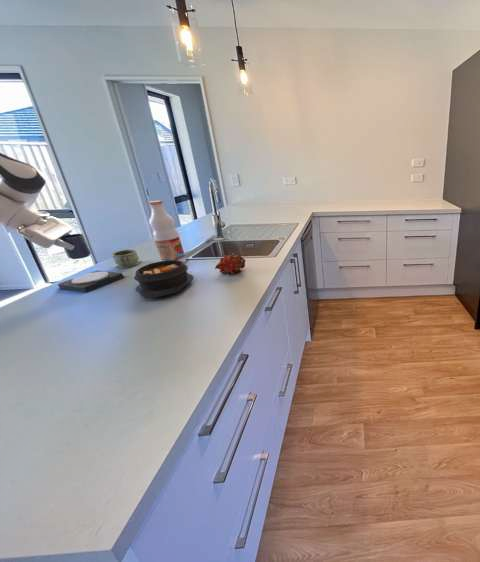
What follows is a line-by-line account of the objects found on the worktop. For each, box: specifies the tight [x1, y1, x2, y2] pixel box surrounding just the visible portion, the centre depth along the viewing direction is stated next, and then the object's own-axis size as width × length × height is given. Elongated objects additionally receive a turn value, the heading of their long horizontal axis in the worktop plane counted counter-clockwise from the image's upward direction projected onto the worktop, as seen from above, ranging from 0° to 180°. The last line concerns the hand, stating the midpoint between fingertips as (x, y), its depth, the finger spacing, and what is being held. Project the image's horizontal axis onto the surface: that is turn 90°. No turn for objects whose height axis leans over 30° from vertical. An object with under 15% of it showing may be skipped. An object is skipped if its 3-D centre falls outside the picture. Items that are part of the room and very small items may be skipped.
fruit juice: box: [148, 200, 187, 264], centre depth 132 cm, size 9×9×28 cm
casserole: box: [133, 260, 194, 299], centre depth 112 cm, size 25×19×8 cm
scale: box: [57, 269, 124, 293], centre depth 118 cm, size 14×14×3 cm
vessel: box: [111, 248, 140, 269], centre depth 136 cm, size 12×9×6 cm
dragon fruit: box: [214, 253, 246, 275], centre depth 125 cm, size 8×8×12 cm
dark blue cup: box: [59, 233, 92, 260], centre depth 111 cm, size 6×6×8 cm
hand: (77, 245), depth 111 cm, fingers closed on dark blue cup, 6 cm apart
